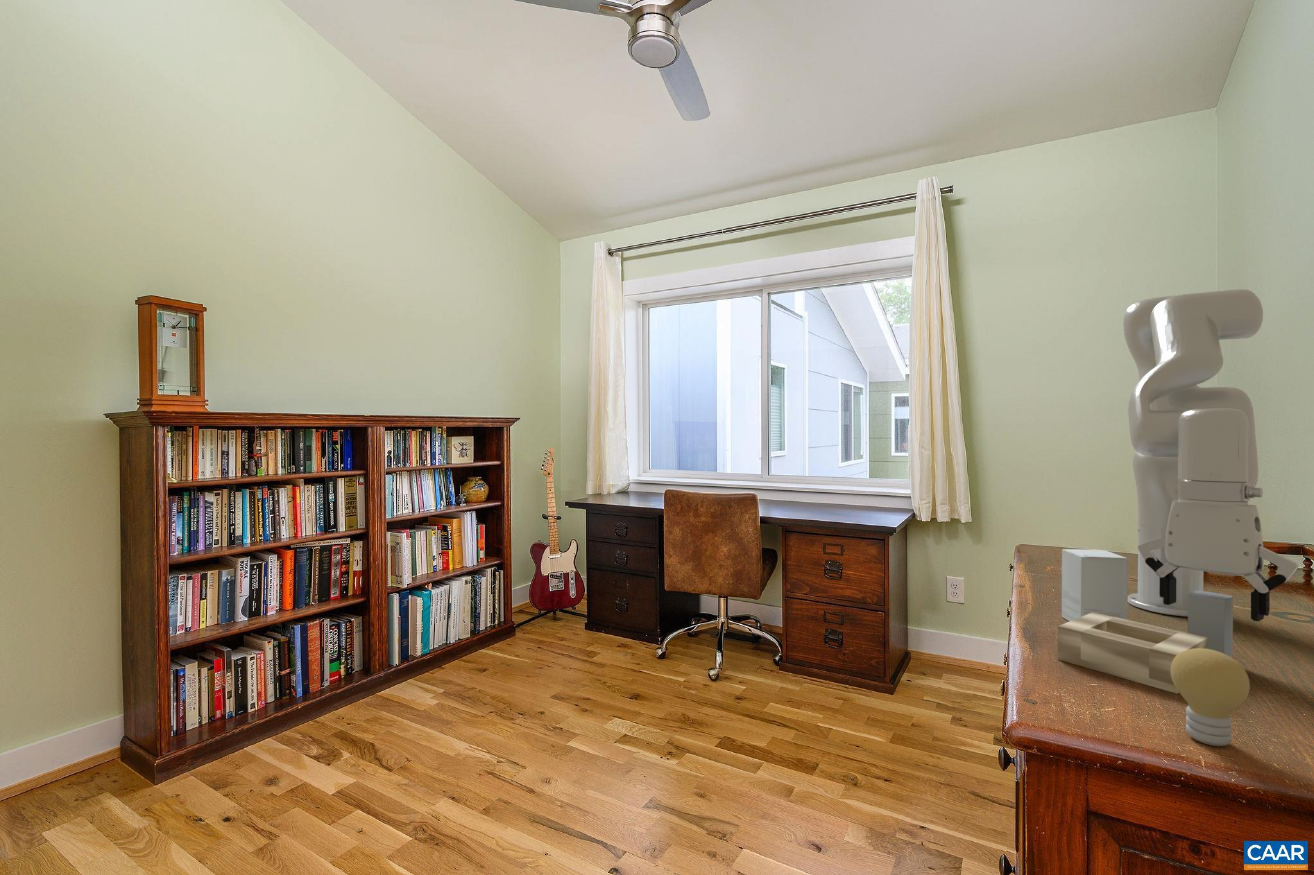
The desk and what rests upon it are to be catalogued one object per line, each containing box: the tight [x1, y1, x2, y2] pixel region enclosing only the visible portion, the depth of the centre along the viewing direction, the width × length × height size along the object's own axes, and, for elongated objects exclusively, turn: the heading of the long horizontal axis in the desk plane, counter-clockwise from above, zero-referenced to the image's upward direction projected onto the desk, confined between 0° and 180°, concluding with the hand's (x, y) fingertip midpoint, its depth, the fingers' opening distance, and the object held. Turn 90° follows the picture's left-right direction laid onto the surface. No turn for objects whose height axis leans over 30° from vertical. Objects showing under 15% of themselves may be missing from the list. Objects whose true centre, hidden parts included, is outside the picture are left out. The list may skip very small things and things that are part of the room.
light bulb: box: [1171, 648, 1251, 747], centre depth 66 cm, size 6×6×10 cm
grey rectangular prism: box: [1187, 590, 1234, 659], centre depth 88 cm, size 4×4×10 cm
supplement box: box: [1061, 548, 1129, 622], centre depth 106 cm, size 7×7×13 cm
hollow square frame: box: [1057, 612, 1208, 695], centre depth 87 cm, size 12×14×5 cm
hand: (1211, 611), depth 88 cm, fingers open, 9 cm apart
